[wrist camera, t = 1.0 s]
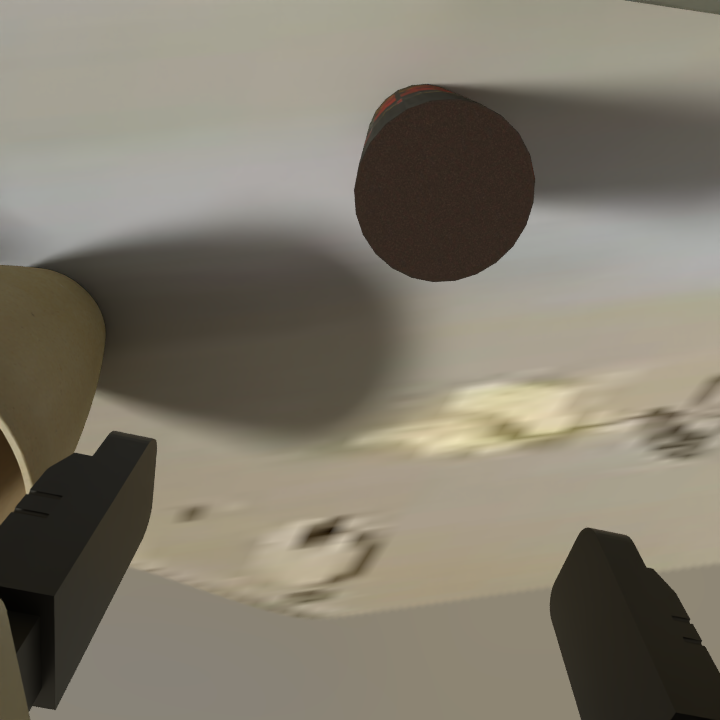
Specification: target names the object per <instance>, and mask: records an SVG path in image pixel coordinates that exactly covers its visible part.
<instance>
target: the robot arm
mask: <svg viewBox="0 0 720 720" xmlns="http://www.w3.org/2000/svg"><path fill="white" fill-rule="evenodd" d="M156 453H157V442H156V440H155V439H152V438H147V437H142V436H137V435H132V434H127V433H123V432H118V431H112V432H111V433H110V434H109V435H108V436H107V437H106V439H105V440H104V442H103V443H102V444H101V446H100V447H99V448H98V450H97V451H96V452H95V454H94V455H93V456H89V455H84V454H79V453H73V454H71V455H70V456H68V457H66V458H65V459H63V460H61V461H59V462H58V463H56V464H54V465H52V466H51V467H49V468H47V470H46V471H45V472H44V473H43V474H42V476H41V477H40V478H39V479H38V480H37V482H36V483H35V484H34V485H33V486H32V488H31V489H30V492H29V494H26V495H25V496H24V497H23V498H22V500H21V501H20V502H19V503H18V504H17V506H16V507H15V510H14V512H11V513H10V514H9V515H8V516H7V518H6V519H5V520H4V521H3V522H2V524H1V525H0V720H30V716H29V711H30V709H31V707H32V706H36V707H42V708H47V709H54V710H56V708H57V706H58V704H59V702H60V700H61V698H62V696H63V694H64V692H65V690H66V688H67V686H68V684H69V682H70V680H71V678H72V677H73V675H74V673H75V670H76V668H77V667H78V665H79V663H80V661H81V659H82V657H83V655H84V653H85V651H86V649H87V647H88V645H89V643H90V641H91V639H92V637H93V635H94V633H95V631H96V629H97V627H98V625H99V623H100V621H101V619H102V618H103V616H104V614H105V611H106V610H107V608H108V606H109V604H110V602H111V600H112V598H113V596H114V594H115V592H116V590H117V588H118V586H119V584H120V582H121V580H122V578H123V576H124V574H125V572H126V570H127V569H128V567H129V565H130V563H131V561H132V559H133V557H134V555H135V553H136V551H137V549H138V547H139V545H140V543H141V541H142V539H143V537H144V534H145V531H146V529H147V526H148V522H149V519H150V514H151V509H152V502H153V490H154V478H155V466H156ZM550 615H551V620H552V623H553V626H554V630H555V633H556V636H557V640H558V643H559V646H560V650H561V653H562V657H563V660H564V663H565V667H566V670H567V673H568V677H569V680H570V684H571V687H572V690H573V693H574V697H575V700H576V704H577V707H578V710H579V714H580V717H581V720H720V673H719V671H718V669H717V667H716V665H715V664H714V662H713V660H712V658H711V656H710V655H709V653H708V651H707V649H706V647H705V646H702V645H701V641H702V640H701V638H700V636H699V634H698V633H697V631H696V629H695V627H694V626H693V624H690V622H689V621H690V618H689V616H688V615H687V613H686V611H685V609H684V607H683V605H682V603H681V602H680V600H679V598H678V596H677V594H676V593H675V592H674V591H673V590H672V589H671V588H670V586H669V585H668V584H667V583H666V582H665V581H664V580H663V579H662V578H661V577H660V576H659V575H658V574H657V573H656V571H655V570H654V569H651V568H646V566H645V564H644V562H643V560H642V558H641V556H640V554H639V552H638V550H637V548H636V547H635V545H634V543H633V541H632V540H631V538H630V537H628V536H627V535H623V534H618V533H613V532H608V531H603V530H598V529H593V528H585V529H583V530H582V531H581V532H580V533H579V535H578V537H577V539H576V541H575V543H574V545H573V547H572V549H571V551H570V553H569V555H568V557H567V559H566V561H565V563H564V565H563V567H562V569H561V571H560V573H559V575H558V577H557V579H556V581H555V583H554V585H553V588H552V592H551V597H550Z"/></svg>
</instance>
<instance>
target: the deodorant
mask: <svg viewBox="0 0 720 720" xmlns="http://www.w3.org/2000/svg"><path fill="white" fill-rule="evenodd" d="M534 185H535V176H534V172H533V167H532V162H531V157H530V154H529V152H528V150H527V148H526V146H525V144H524V142H523V140H522V139H521V137H520V135H519V133H518V132H517V131H516V130H515V129H514V128H513V127H512V126H511V125H510V124H509V123H508V122H507V121H506V120H505V119H504V118H503V117H502V116H501V115H499V114H498V113H496V112H494V111H492V110H490V109H489V108H487V107H485V106H483V105H481V104H479V103H477V102H475V101H472V100H470V99H467V98H465V97H463V96H460V95H458V94H456V93H453V92H451V91H448V90H446V89H444V88H441V87H437V86H433V85H428V84H422V85H411V86H409V87H406V88H403V89H400V90H398V91H396V92H395V93H394V94H392V95H391V96H389V97H388V98H387V99H385V101H384V102H383V103H382V104H381V106H380V107H379V108H378V109H377V110H376V112H375V114H374V116H373V119H372V121H371V123H370V125H369V129H368V133H367V137H366V140H365V144H364V148H363V152H362V155H361V159H360V163H359V167H358V172H357V178H356V183H355V188H354V194H355V208H356V215H357V218H358V221H359V224H360V227H361V230H362V233H363V236H364V237H365V239H366V240H367V242H368V243H369V245H370V246H371V248H372V249H373V251H374V252H375V254H377V255H378V256H379V257H380V258H381V259H382V260H383V261H385V262H386V263H387V264H388V265H389V266H390V267H391V268H393V269H395V270H397V271H399V272H401V273H403V274H405V275H407V276H409V277H411V278H416V279H421V280H426V281H431V282H441V281H456V280H459V279H462V278H466V277H469V276H472V275H475V274H478V273H479V272H481V271H483V270H484V269H486V268H488V267H489V266H491V265H493V264H495V263H496V262H497V261H498V260H499V259H500V258H501V257H503V256H504V255H505V254H506V253H507V252H508V251H509V250H510V249H511V248H512V247H513V246H514V244H515V242H516V241H517V239H518V238H519V236H520V234H521V233H522V231H523V230H524V228H525V226H526V224H527V221H528V218H529V215H530V212H531V208H532V205H533V201H534Z"/></svg>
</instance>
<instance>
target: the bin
mask: <svg viewBox="0 0 720 720" xmlns="http://www.w3.org/2000/svg"><path fill="white" fill-rule="evenodd" d="M627 1H633V2H640V3H647V4H653V5H660V6H667V7H673V8H680V9H687V10H693V11H700V12H707V13H713V14H720V0H627Z"/></svg>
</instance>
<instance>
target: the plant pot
mask: <svg viewBox="0 0 720 720" xmlns="http://www.w3.org/2000/svg"><path fill="white" fill-rule="evenodd" d="M105 338H106V330H105V324H104V319H103V316H102V314H101V311H100V309H99V307H98V305H97V304H96V302H95V301H94V299H93V298H92V297H91V296H90V294H89V293H88V292H87V291H86V290H85V289H84V288H83V287H81V286H80V285H79V284H78V283H76V282H75V281H74V280H72V279H70V278H69V277H67V276H65V275H63V274H61V273H58V272H55V271H52V270H48V269H43V268H34V267H23V266H9V265H0V525H1V524H2V522H3V521H4V520H5V519H6V518H7V516H8V515H9V514H10V513H11V512H14V510H15V507H16V506H17V504H18V503H19V502H20V501H21V500H22V498H23V497H24V496H25V495H26V494H29V492H30V489H31V488H32V486H33V485H34V484H35V483H36V482H37V480H38V479H39V478H40V477H41V476H42V474H43V473H44V472H45V471H46V470H47V468H49V467H51V466H52V465H54V464H56V463H58V462H59V461H61V460H63V459H65V458H66V457H68V456H70V455H71V454H73V453H74V451H75V449H76V446H77V444H78V441H79V439H80V436H81V434H82V431H83V428H84V425H85V422H86V420H87V417H88V414H89V411H90V408H91V405H92V401H93V398H94V395H95V391H96V388H97V383H98V379H99V375H100V371H101V366H102V360H103V354H104V347H105Z"/></svg>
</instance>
